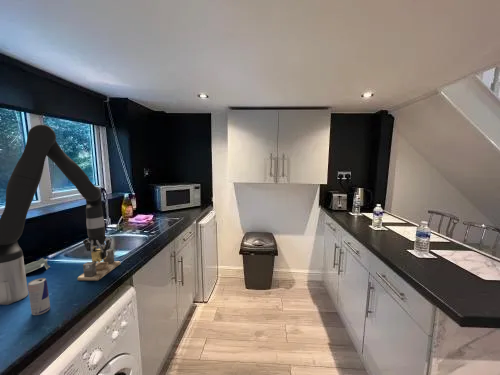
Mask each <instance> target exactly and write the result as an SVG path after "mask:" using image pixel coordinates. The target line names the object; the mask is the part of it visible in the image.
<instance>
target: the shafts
mask: <svg viewBox="0 0 500 375" xmlns="http://www.w3.org/2000/svg"><path fill="white" fill-rule="evenodd" d="M111 249H112V248H110V249H109V250H111ZM109 250H107V251H109ZM107 256H108V252H106V257H107ZM91 262H96V261H95V260H94V261H92V260H91ZM96 263H97V262H96ZM85 268H86V269H89V265H86V266H85Z"/></svg>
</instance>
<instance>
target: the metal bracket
mask: <svg viewBox="0 0 500 375" xmlns="http://www.w3.org/2000/svg"><path fill="white" fill-rule="evenodd" d="M24 266H25V273H26V274H28V273H31V272H33V271H36V270H38V269H40V268H42V267H44V268H45V270H46V271H47V270H48V269H49V268H51V266H50V265H48V258H46V259H45V258H43V257H42V258H40V259H39V260H36V261H32V262H30V263H27V264H24Z"/></svg>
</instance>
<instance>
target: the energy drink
mask: <svg viewBox="0 0 500 375" xmlns="http://www.w3.org/2000/svg"><path fill="white" fill-rule="evenodd" d="M27 287H28V298H29V304H30V311H31V315H33V316H40V315H43V314H45V313H47V312H48V311H49V310H50V309H51V303H50V296H49V288H48V280H47V278H45V277H40V278H36V279H33V280H31V281H29V282H27Z"/></svg>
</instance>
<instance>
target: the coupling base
mask: <svg viewBox="0 0 500 375" xmlns="http://www.w3.org/2000/svg"><path fill="white" fill-rule="evenodd" d="M110 249H111V250H109V251H106V252H108V256H107V257H106V258H105V259H102V261H101V262H97V263H96V262H92V261H86V263H84V264H82V267H83V268H82V270H83V273H81V274H80V275H79V276H78V277H77V281H99V280H101V279H102V278H103V277H104V276H106V275H107V274H109V273H111V272H112V271H113V270H114V269H115V268H117V267H118V266H120V265H121V261H119V260H115V253H114V249H112V248H110ZM86 265H89V269H86V268H85V266H86Z"/></svg>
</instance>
